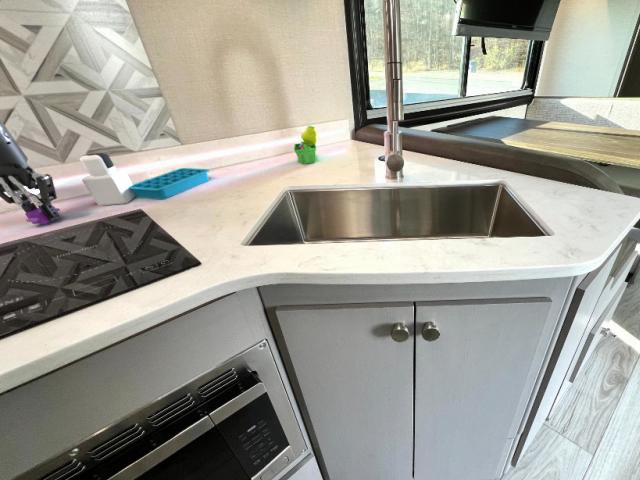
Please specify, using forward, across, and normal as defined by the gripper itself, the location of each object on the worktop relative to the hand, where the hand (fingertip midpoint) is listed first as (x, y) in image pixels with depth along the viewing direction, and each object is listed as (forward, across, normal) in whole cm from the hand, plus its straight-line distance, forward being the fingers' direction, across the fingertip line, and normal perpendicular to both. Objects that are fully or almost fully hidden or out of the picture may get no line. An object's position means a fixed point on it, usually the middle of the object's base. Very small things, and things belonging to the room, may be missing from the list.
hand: (46, 219), depth 75 cm
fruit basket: (+1, +52, +52) cm, 74 cm away
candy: (0, 0, 0) cm, 0 cm away
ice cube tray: (+2, +16, +25) cm, 30 cm away
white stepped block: (+2, +6, +16) cm, 17 cm away
